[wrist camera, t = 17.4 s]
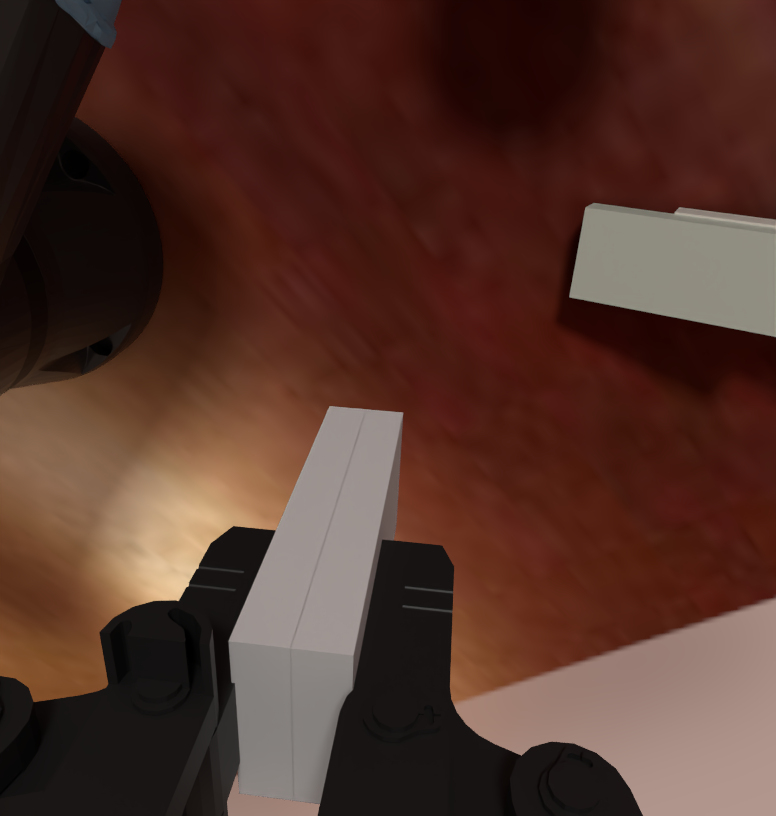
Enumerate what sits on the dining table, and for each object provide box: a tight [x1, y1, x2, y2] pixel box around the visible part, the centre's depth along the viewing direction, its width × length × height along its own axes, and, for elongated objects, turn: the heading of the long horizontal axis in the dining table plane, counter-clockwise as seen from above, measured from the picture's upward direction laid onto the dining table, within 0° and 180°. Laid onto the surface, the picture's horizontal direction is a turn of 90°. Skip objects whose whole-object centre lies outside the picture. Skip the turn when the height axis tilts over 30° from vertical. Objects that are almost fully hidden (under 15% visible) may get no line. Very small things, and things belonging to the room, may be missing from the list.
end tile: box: [569, 203, 776, 337], centre depth 33 cm, size 2×4×10 cm
